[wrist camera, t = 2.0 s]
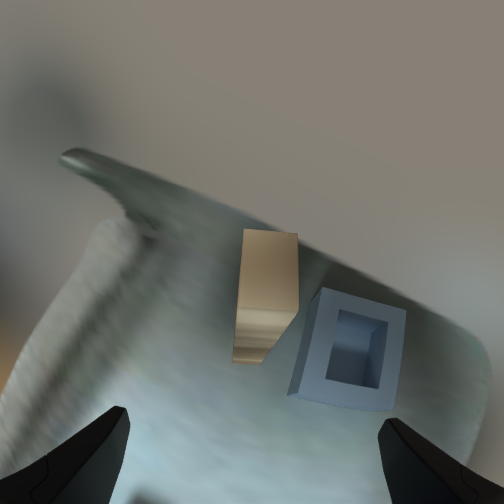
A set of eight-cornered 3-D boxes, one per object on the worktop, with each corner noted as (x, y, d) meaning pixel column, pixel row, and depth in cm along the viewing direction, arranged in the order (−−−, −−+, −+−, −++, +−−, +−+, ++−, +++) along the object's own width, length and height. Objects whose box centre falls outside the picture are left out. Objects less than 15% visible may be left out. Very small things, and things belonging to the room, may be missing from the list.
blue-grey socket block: (371, 411, 19) (393, 410, 16) (287, 395, 20) (298, 393, 17) (385, 323, 23) (406, 310, 20) (310, 303, 24) (322, 286, 21)
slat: (259, 364, 21) (298, 310, 10) (232, 363, 21) (237, 306, 10) (261, 326, 22) (297, 233, 11) (235, 324, 22) (244, 228, 11)
